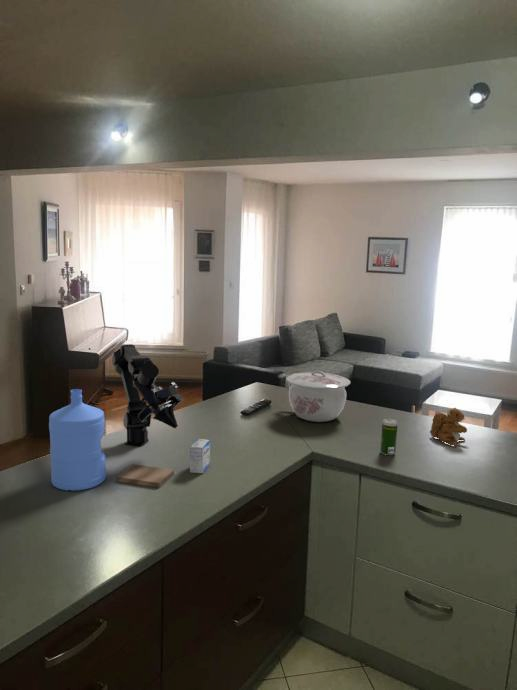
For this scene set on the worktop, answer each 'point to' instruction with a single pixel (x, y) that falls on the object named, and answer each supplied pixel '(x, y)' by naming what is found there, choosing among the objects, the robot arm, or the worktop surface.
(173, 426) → the robot arm
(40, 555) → the worktop surface
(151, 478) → the walnut cutting board
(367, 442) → the worktop surface
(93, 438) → the water jug
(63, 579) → the worktop surface
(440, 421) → the stuffed squirrel
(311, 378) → the chamber pot
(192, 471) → the medicine box
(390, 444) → the beer can
